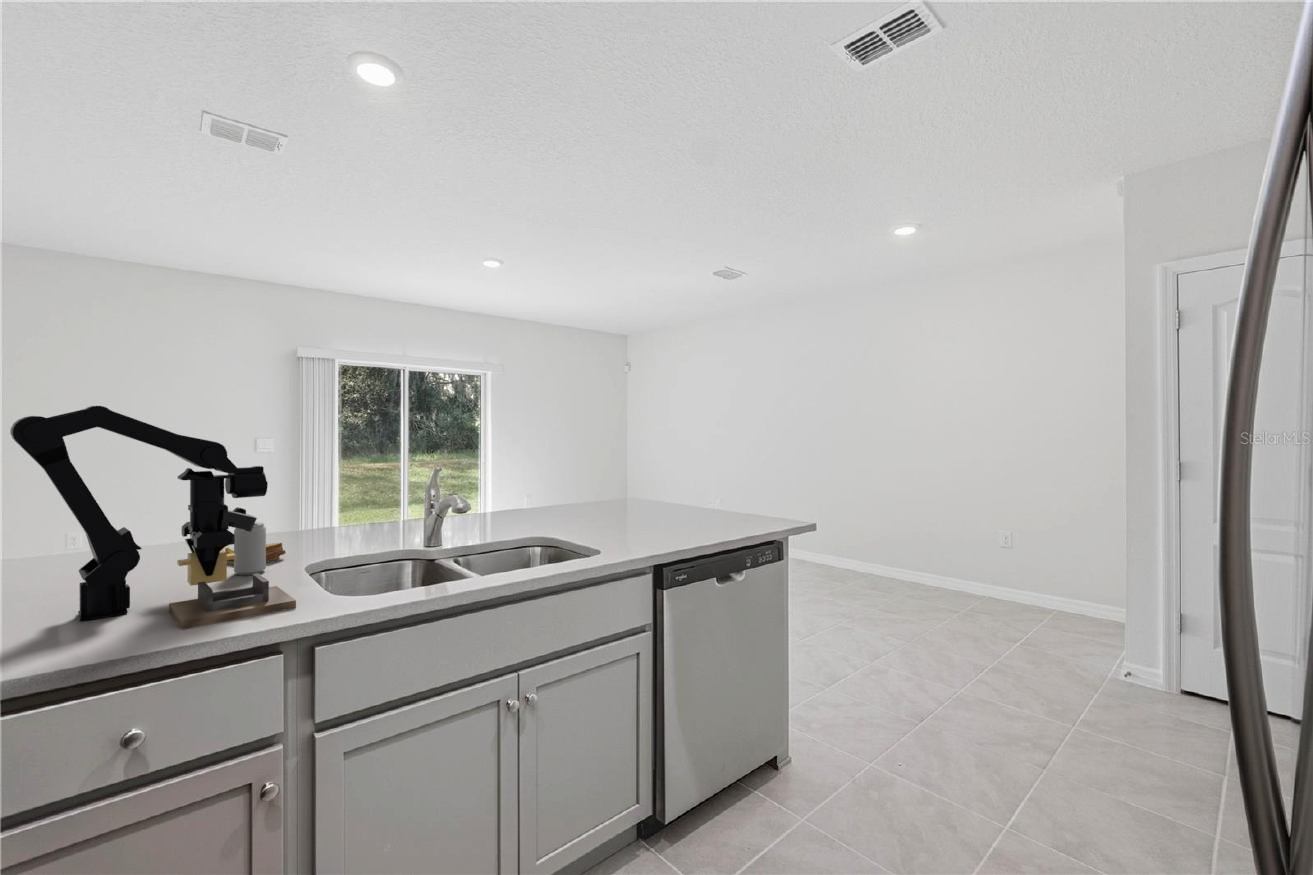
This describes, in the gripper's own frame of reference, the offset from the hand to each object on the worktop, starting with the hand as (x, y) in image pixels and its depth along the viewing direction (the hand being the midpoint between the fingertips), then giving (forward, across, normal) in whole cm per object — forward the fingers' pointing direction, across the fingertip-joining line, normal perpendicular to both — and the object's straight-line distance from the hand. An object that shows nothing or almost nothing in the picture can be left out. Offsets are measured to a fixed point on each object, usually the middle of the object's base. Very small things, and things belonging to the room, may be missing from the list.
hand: (207, 573), depth 123 cm
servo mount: (+5, -14, -2) cm, 15 cm away
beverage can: (+5, +16, -11) cm, 20 cm away
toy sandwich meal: (+5, +30, -15) cm, 34 cm away
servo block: (+2, 0, 0) cm, 2 cm away
